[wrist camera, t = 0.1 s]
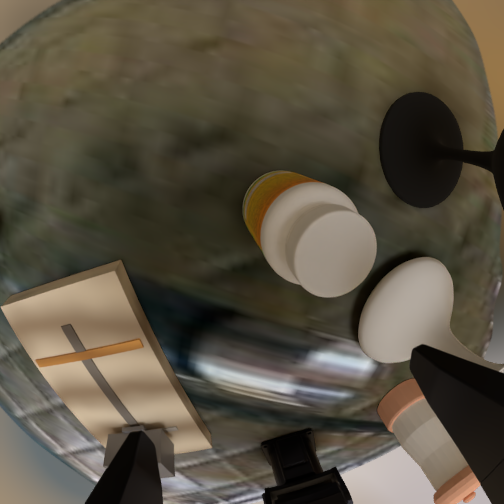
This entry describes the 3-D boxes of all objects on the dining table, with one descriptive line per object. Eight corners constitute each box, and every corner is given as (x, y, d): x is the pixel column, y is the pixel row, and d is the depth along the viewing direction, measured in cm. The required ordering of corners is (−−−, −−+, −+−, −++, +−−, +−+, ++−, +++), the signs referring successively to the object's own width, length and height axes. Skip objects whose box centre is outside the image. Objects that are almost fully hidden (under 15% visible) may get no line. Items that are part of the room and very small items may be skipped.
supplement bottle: (229, 227, 21) (254, 293, 12) (261, 156, 20) (313, 170, 11) (294, 253, 23) (353, 323, 14) (326, 188, 21) (408, 224, 12)
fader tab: (175, 441, 25) (176, 477, 21) (124, 447, 25) (121, 481, 20) (160, 422, 24) (158, 461, 20) (107, 429, 23) (101, 464, 19)
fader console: (210, 434, 29) (212, 449, 27) (119, 446, 28) (117, 460, 26) (121, 259, 20) (114, 272, 18) (10, 295, 20) (-1, 308, 17)
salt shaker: (423, 394, 35) (491, 484, 17) (381, 422, 35) (441, 521, 17) (419, 369, 32) (503, 472, 14) (372, 401, 32) (444, 517, 14)
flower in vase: (381, 366, 30) (501, 535, 7) (327, 316, 25) (495, 569, 2) (460, 283, 28) (612, 410, 5) (426, 213, 24) (660, 357, 1)
